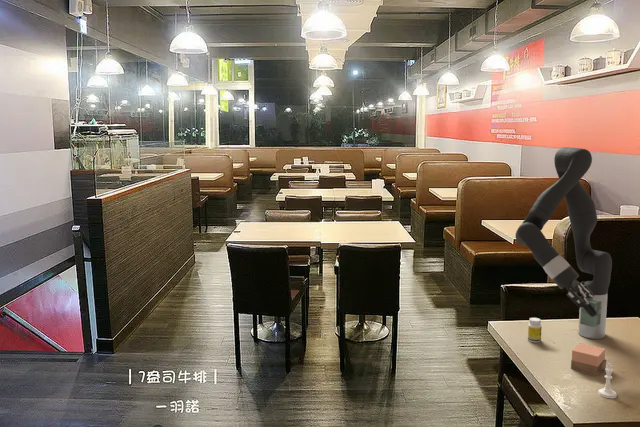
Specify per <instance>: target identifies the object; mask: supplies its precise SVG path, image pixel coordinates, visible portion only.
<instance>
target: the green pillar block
mask: <svg viewBox="0 0 640 427" xmlns="http://www.w3.org/2000/svg"><path fill="white" fill-rule="evenodd" d="M586 300H587V301H588V303H589V304H590V305H591V306H592V307H593V308H594V309H595V310H596V312H597V314H596V315H595V316H593V317H591V316H590V315H589V314H588V312H587V311H586V310H585V309H584V308H582V307H581V319H580V324H583V325H587V326H591V327H596V326H597V325H599V324H600V320H601V304H602V301H601V300H597V299H592V298H586ZM589 304H588V305H589Z"/></svg>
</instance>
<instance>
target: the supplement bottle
mask: <svg viewBox="0 0 640 427" xmlns="http://www.w3.org/2000/svg"><path fill="white" fill-rule="evenodd" d="M528 321H529V323H528V324H527V341H528V342H531V343H534V344H536V343H541V341H542V327H543V326H542V320H541V318H538V317H529V320H528Z"/></svg>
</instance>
